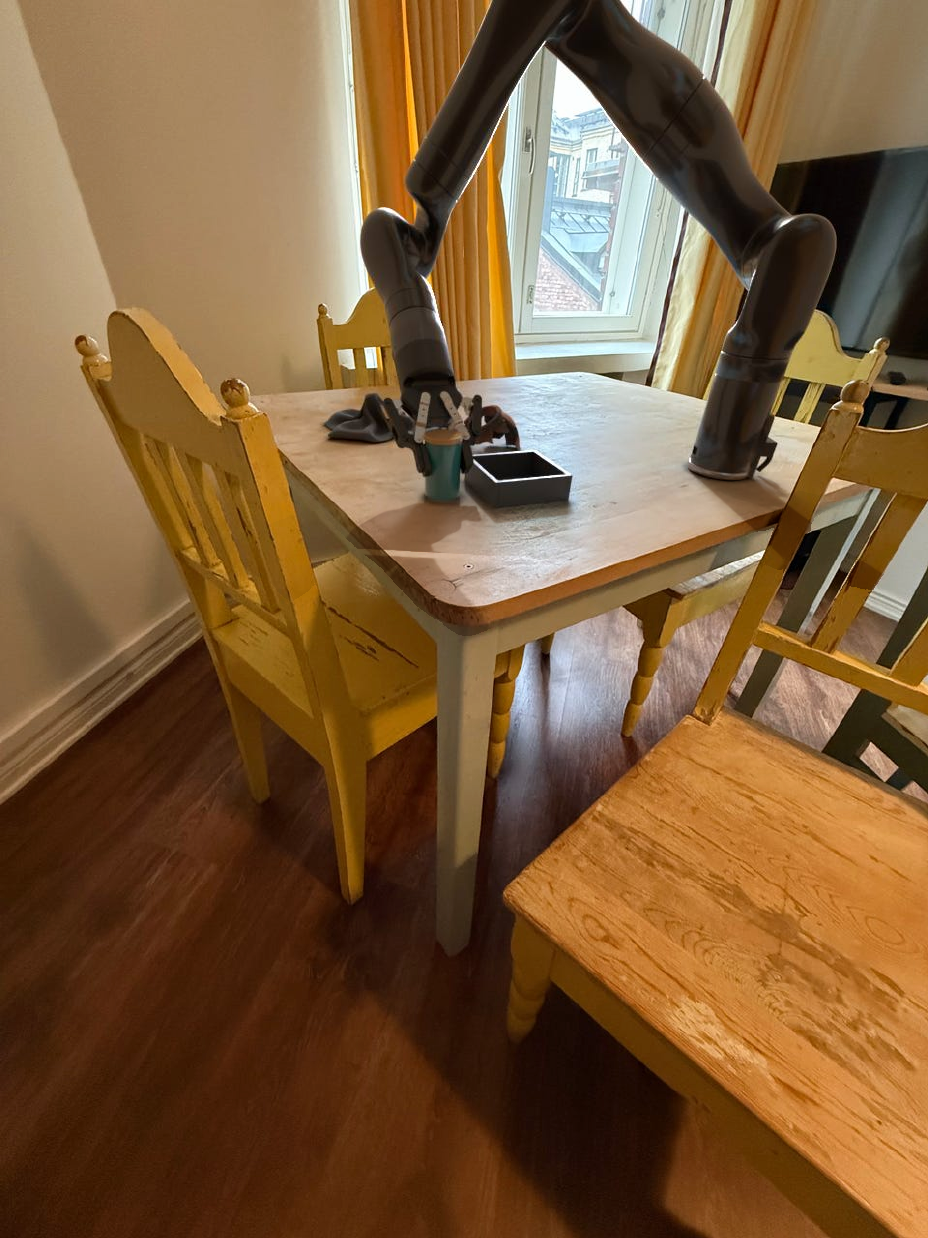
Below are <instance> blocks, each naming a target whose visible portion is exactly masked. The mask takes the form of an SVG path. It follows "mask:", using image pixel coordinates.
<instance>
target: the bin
mask: <svg viewBox="0 0 928 1238" xmlns="http://www.w3.org/2000/svg"><path fill="white" fill-rule="evenodd" d="M472 455H473V459H474V462H473V465H472V467H471V469H470V470H469V472H468V473H467V474H464V481H465V482H466V483H467V484H468V485H469V486H470V487H471V488H472V489H473V490H474V492H476V493H477V494H478V495H479V496H480V497H481V498H482V499H483V500H484V501H485V502H486V503H487V504H488V505H489V506H490V507H491V508H492V509H493V510H498V509H506V508H515V507H524V506H533V505H541V504H551V503H560V502H569V500H570V494H571V488H572V483H573V474H571V473H570V472H569V471H567V470H565V469H564V468H562V467H561V466H559V465H558V464H556V463H555V462H554V461H552V460H551V459H550V458H548V457H546V456H544V455H543V454H542V453H540V451H537V450H536V449H532V450H520V451H517V452H516V451H507V452H506V451H505V452H493V453H479V454H472Z"/></svg>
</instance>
